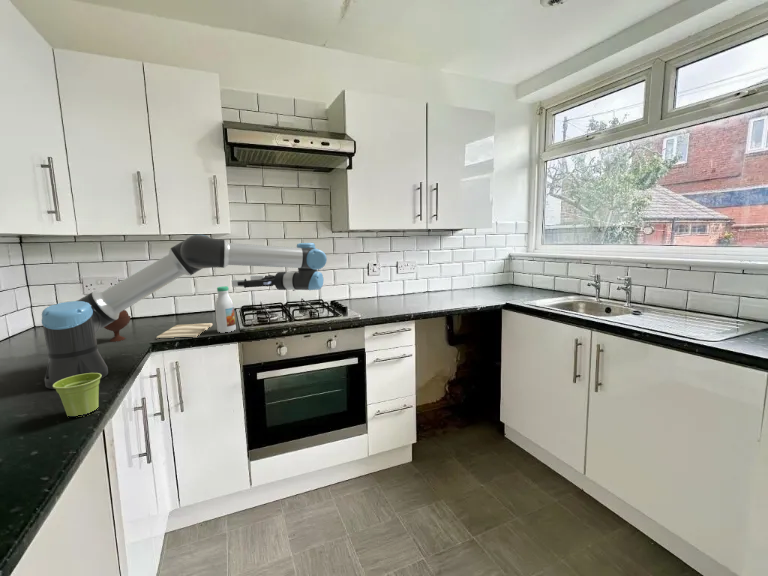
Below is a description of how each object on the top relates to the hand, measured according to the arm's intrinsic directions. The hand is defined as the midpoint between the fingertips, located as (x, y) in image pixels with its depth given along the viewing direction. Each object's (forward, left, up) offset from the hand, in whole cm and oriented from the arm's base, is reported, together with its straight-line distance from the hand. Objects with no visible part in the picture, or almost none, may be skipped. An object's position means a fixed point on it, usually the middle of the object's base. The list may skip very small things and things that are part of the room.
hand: (241, 280), depth 163 cm
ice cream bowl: (-2, +52, -23) cm, 57 cm away
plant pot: (-71, +23, -23) cm, 78 cm away
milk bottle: (+3, +9, -23) cm, 25 cm away
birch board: (+5, +27, -23) cm, 36 cm away
